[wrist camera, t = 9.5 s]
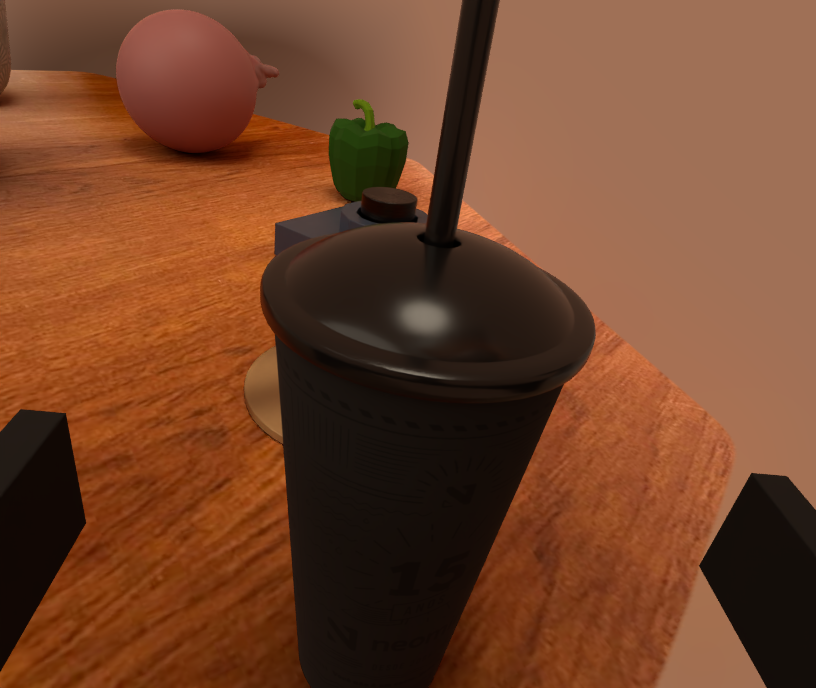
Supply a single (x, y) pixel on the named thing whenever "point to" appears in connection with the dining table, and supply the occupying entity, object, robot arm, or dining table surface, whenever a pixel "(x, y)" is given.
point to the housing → (324, 225)
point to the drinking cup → (410, 409)
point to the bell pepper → (365, 153)
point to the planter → (4, 49)
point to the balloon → (188, 80)
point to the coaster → (264, 394)
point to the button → (388, 205)
